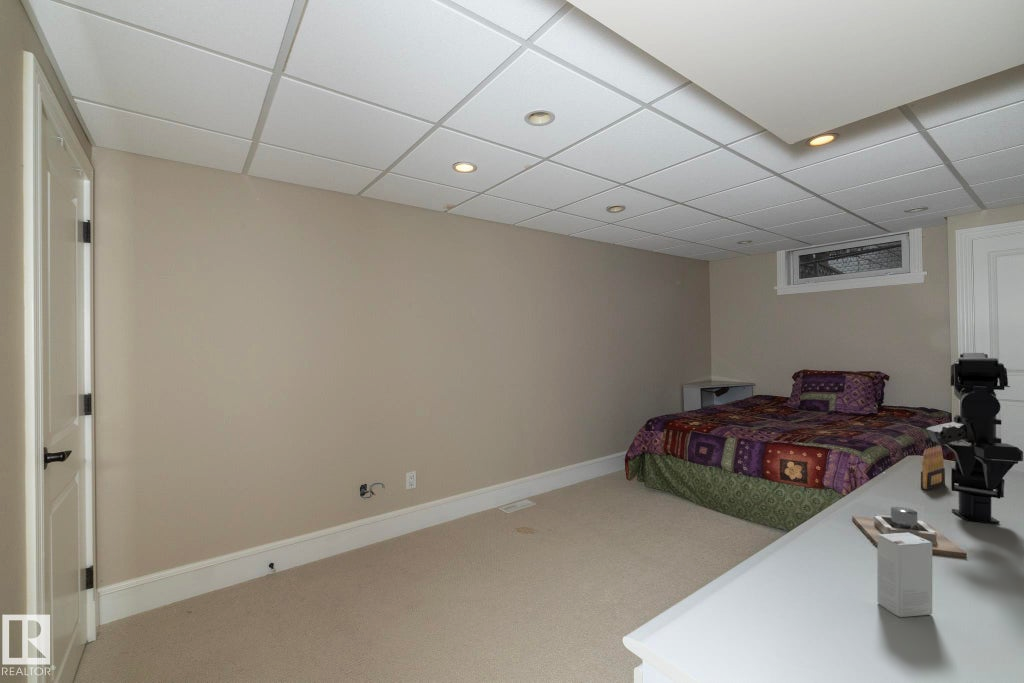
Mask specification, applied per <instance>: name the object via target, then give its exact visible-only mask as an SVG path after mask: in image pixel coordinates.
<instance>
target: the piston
mask: <svg viewBox="0 0 1024 683" xmlns="http://www.w3.org/2000/svg"><path fill="white" fill-rule="evenodd" d="M890 516H891V527H892V528H900V529H908V530H917V520H918V511H916V510H914V509H911V508H908V507H903V506H891V507H890Z"/></svg>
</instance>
